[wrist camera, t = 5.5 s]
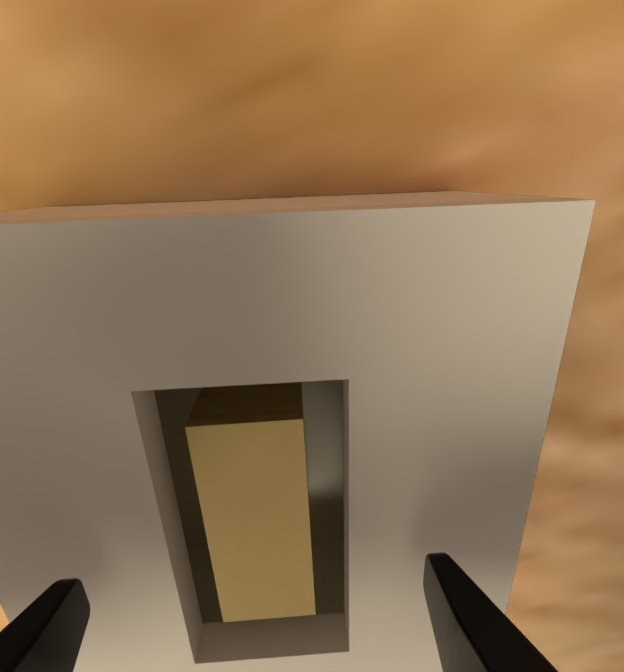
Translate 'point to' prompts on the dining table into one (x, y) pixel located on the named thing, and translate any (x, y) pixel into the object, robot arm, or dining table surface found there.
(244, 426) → the two-tone wooden block
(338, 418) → the moneybox
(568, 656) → the dining table surface
